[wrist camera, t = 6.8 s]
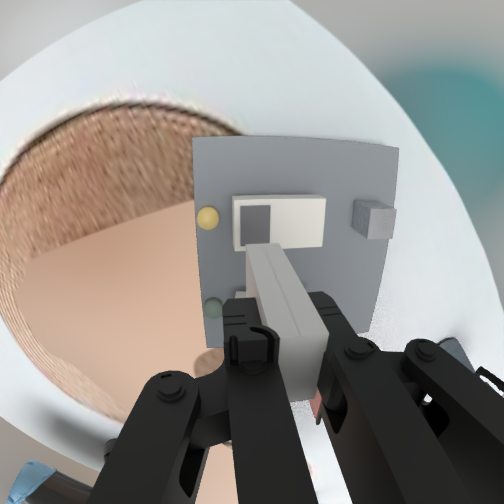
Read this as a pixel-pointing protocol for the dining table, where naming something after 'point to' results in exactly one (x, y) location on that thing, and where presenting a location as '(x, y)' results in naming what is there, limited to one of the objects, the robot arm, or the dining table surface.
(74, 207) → the dining table surface
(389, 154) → the panel
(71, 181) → the dining table surface
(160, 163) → the dining table surface
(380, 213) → the post
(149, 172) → the dining table surface
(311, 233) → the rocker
